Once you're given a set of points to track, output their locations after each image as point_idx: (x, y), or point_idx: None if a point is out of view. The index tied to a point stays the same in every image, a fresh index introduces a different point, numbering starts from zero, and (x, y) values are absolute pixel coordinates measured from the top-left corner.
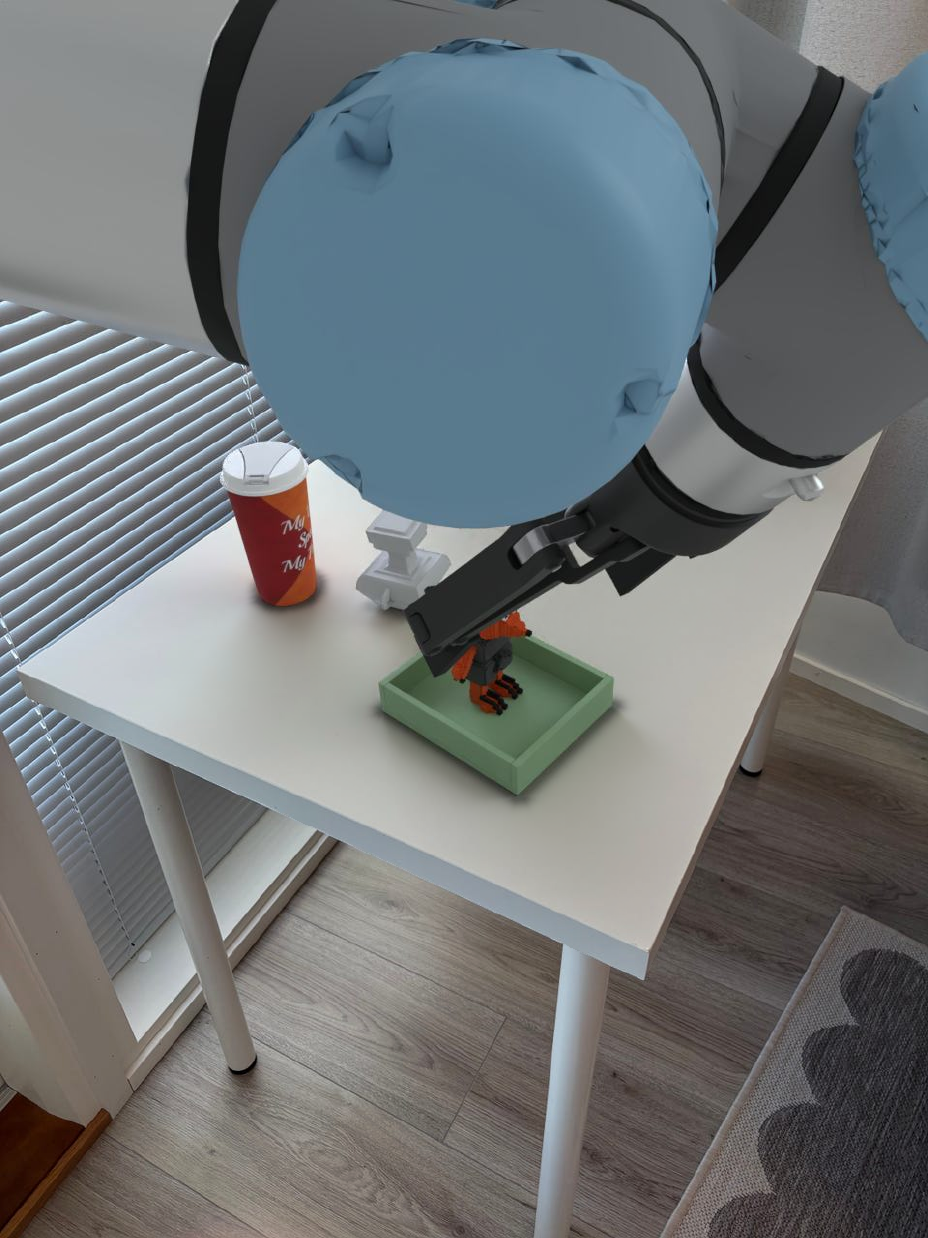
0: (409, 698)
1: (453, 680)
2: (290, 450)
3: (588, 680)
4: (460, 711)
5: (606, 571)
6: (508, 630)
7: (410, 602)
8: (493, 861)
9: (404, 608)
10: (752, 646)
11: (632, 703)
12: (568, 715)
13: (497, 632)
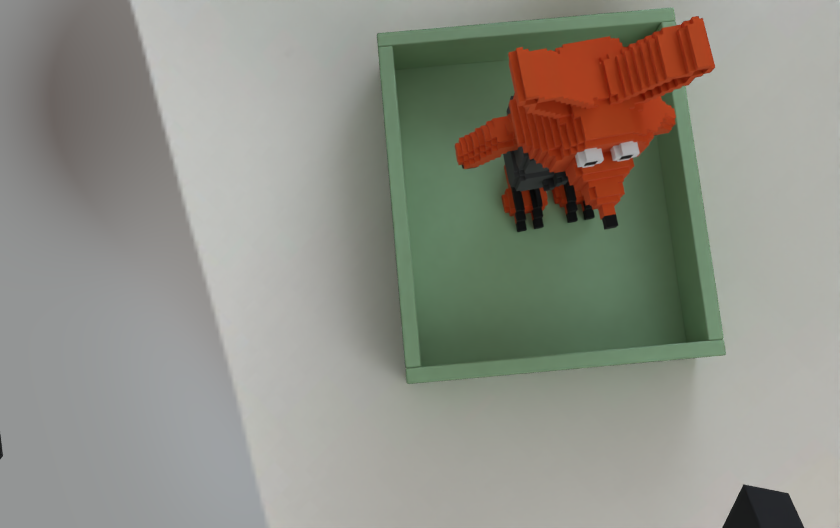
0: (389, 107)
1: None
2: None
3: (693, 306)
4: (472, 172)
5: (724, 524)
6: (579, 184)
7: None
8: (280, 452)
9: None
10: None
11: (731, 381)
12: (577, 360)
13: (558, 168)
